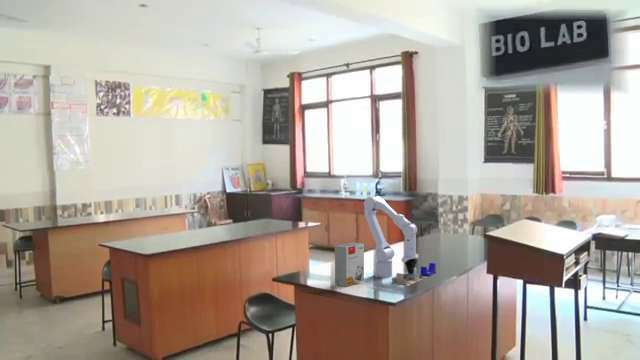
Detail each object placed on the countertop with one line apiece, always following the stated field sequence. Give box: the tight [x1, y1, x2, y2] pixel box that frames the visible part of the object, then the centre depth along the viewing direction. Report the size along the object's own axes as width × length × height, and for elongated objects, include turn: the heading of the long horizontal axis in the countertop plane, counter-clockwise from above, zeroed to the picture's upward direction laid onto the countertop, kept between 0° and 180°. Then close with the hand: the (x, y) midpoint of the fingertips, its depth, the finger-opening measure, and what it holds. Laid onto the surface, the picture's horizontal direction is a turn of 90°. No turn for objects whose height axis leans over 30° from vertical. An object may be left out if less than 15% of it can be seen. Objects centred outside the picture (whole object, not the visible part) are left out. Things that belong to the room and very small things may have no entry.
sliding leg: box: [408, 267, 420, 279], centre depth 260 cm, size 3×5×5 cm, turn 51°
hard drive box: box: [334, 242, 365, 288], centre depth 256 cm, size 16×8×20 cm, turn 138°
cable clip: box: [420, 262, 437, 278], centre depth 269 cm, size 12×4×6 cm, turn 142°
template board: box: [390, 271, 428, 287], centre depth 257 cm, size 22×10×6 cm, turn 141°
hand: (410, 273), depth 258 cm, fingers closed
